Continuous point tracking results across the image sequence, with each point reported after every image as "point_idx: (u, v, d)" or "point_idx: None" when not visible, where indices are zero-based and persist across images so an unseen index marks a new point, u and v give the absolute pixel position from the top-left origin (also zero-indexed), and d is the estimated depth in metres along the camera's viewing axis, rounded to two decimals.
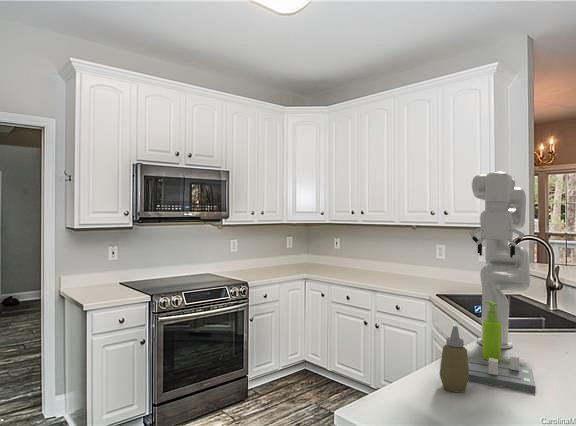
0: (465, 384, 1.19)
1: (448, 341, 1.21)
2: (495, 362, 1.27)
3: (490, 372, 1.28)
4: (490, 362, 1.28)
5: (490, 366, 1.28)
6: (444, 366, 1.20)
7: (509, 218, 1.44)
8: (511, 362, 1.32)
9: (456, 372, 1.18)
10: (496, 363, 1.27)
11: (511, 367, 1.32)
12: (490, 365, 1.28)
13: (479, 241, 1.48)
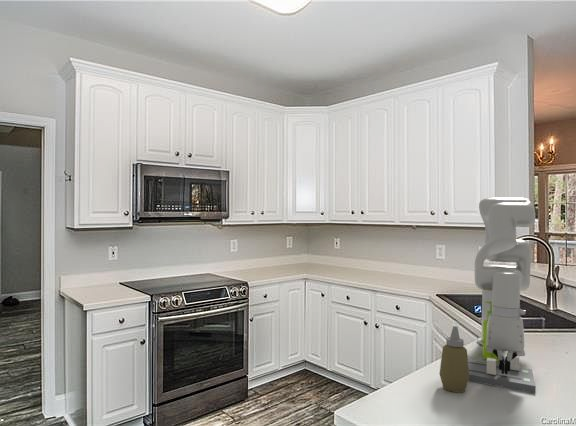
0: (465, 384, 1.19)
1: (448, 341, 1.21)
2: (493, 362, 1.27)
3: (488, 372, 1.28)
4: (488, 362, 1.28)
5: (488, 366, 1.28)
6: (444, 366, 1.20)
7: (520, 327, 1.24)
8: (511, 362, 1.32)
9: (456, 372, 1.18)
10: (494, 363, 1.27)
11: (511, 367, 1.32)
12: (488, 365, 1.28)
13: (499, 356, 1.27)
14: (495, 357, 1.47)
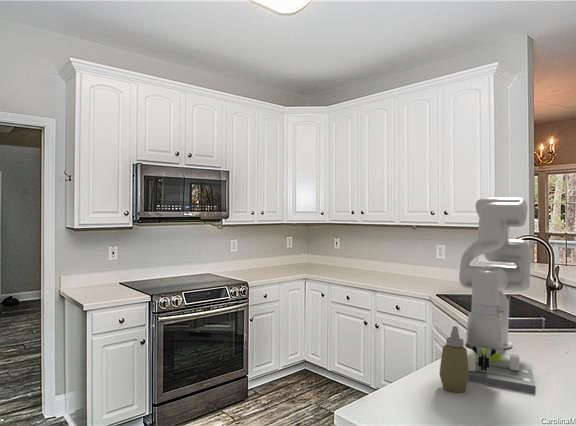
0: (465, 384, 1.19)
1: (448, 341, 1.21)
2: (473, 359, 1.30)
3: (468, 368, 1.30)
4: (468, 358, 1.30)
5: (468, 362, 1.30)
6: (444, 366, 1.20)
7: (498, 325, 1.26)
8: (511, 362, 1.32)
9: (456, 372, 1.18)
10: (474, 359, 1.30)
11: (511, 367, 1.32)
12: (468, 361, 1.30)
13: (479, 353, 1.29)
14: (495, 357, 1.47)
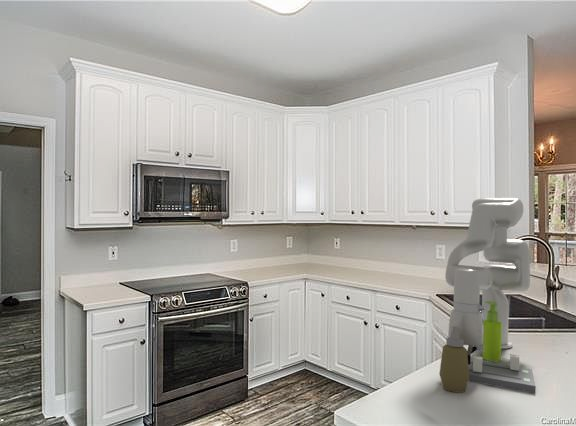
0: (465, 384, 1.19)
1: (448, 341, 1.21)
2: (480, 360, 1.29)
3: (474, 369, 1.30)
4: (474, 359, 1.30)
5: (474, 363, 1.30)
6: (444, 366, 1.20)
7: (479, 322, 1.29)
8: (511, 362, 1.32)
9: (456, 372, 1.18)
10: (480, 360, 1.29)
11: (511, 367, 1.32)
12: (474, 362, 1.30)
13: None
14: (495, 357, 1.47)
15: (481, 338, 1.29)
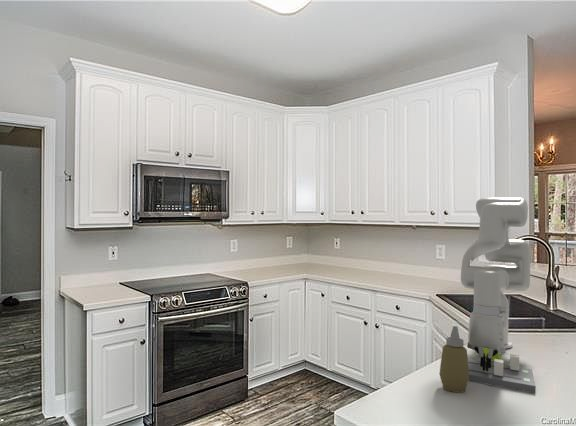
0: (465, 384, 1.19)
1: (448, 341, 1.21)
2: (501, 363, 1.26)
3: (495, 373, 1.27)
4: (495, 363, 1.27)
5: (495, 367, 1.27)
6: (444, 366, 1.20)
7: (500, 325, 1.26)
8: (511, 362, 1.32)
9: (456, 372, 1.18)
10: (502, 364, 1.26)
11: (511, 367, 1.32)
12: (495, 366, 1.27)
13: (480, 353, 1.29)
14: (495, 357, 1.47)
15: (502, 341, 1.26)
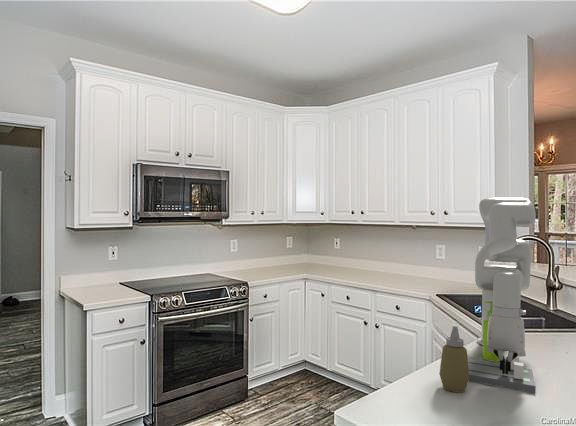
0: (465, 384, 1.19)
1: (448, 341, 1.21)
2: (521, 366, 1.24)
3: (515, 376, 1.25)
4: (515, 366, 1.25)
5: (515, 370, 1.25)
6: (443, 366, 1.20)
7: (521, 327, 1.24)
8: (511, 362, 1.32)
9: (456, 372, 1.18)
10: (522, 367, 1.24)
11: (511, 367, 1.32)
12: (515, 369, 1.25)
13: (500, 356, 1.27)
14: (495, 357, 1.47)
15: (523, 344, 1.23)
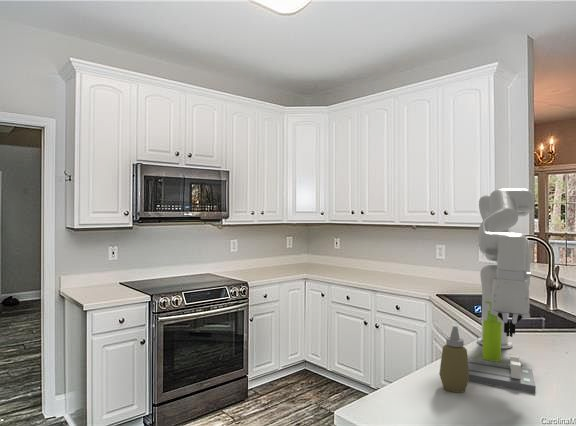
0: (465, 384, 1.19)
1: (448, 341, 1.21)
2: (518, 366, 1.24)
3: (513, 376, 1.25)
4: (513, 366, 1.25)
5: (513, 370, 1.25)
6: (444, 366, 1.20)
7: (525, 290, 1.24)
8: None
9: (456, 372, 1.18)
10: (519, 367, 1.24)
11: None
12: (513, 369, 1.25)
13: (504, 319, 1.27)
14: (495, 357, 1.47)
15: (527, 306, 1.24)
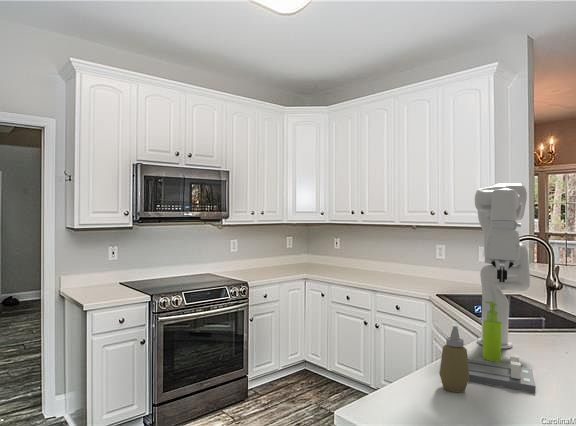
0: (465, 384, 1.19)
1: (448, 341, 1.21)
2: (518, 366, 1.24)
3: (513, 376, 1.25)
4: (513, 366, 1.25)
5: (513, 370, 1.25)
6: (444, 366, 1.20)
7: (516, 238, 1.35)
8: None
9: (456, 372, 1.18)
10: (519, 367, 1.24)
11: None
12: (513, 369, 1.25)
13: (497, 266, 1.38)
14: (495, 357, 1.47)
15: (518, 253, 1.35)
